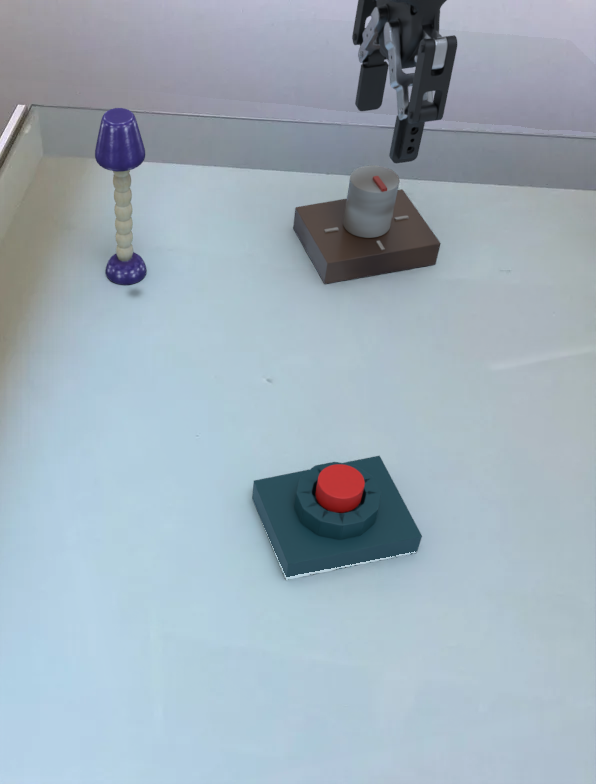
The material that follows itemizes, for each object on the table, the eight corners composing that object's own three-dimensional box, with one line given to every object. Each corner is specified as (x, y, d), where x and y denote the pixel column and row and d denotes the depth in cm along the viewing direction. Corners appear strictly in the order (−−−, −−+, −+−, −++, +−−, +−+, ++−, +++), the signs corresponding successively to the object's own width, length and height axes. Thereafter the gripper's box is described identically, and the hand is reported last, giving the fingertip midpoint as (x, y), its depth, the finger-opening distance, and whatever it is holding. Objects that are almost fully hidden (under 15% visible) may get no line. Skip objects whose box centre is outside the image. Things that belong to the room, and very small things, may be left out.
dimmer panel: (398, 210, 104) (403, 187, 102) (435, 264, 98) (441, 241, 96) (292, 228, 103) (295, 205, 100) (324, 284, 97) (327, 261, 95)
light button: (351, 475, 77) (355, 460, 76) (368, 508, 75) (371, 493, 74) (309, 483, 77) (311, 468, 75) (324, 517, 75) (327, 502, 73)
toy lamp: (157, 277, 98) (154, 117, 85) (119, 294, 97) (110, 134, 83) (131, 254, 101) (124, 94, 87) (94, 271, 99) (81, 111, 86)
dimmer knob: (335, 215, 99) (343, 166, 95) (379, 207, 100) (388, 158, 96) (353, 241, 97) (361, 193, 92) (397, 233, 97) (408, 184, 93)
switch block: (375, 473, 82) (383, 439, 79) (416, 553, 77) (427, 521, 74) (251, 498, 81) (254, 465, 77) (285, 581, 76) (290, 549, 72)
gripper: (517, -54, 65) (458, 173, 78) (437, -130, 73) (396, 86, 86) (411, -41, 64) (370, 185, 77) (342, -120, 72) (316, 97, 85)
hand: (384, 133), depth 81 cm, fingers open, 8 cm apart
